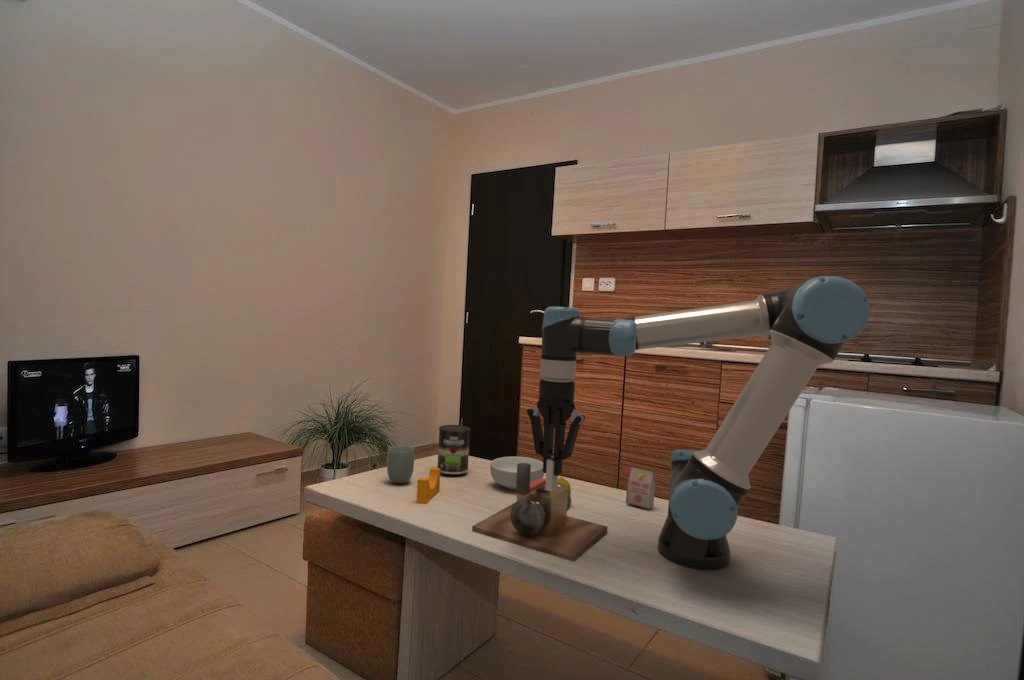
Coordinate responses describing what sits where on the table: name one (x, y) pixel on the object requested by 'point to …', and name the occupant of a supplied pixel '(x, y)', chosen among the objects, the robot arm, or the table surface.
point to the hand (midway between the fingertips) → (551, 489)
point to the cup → (400, 463)
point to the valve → (541, 511)
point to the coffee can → (453, 449)
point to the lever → (527, 480)
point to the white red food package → (640, 488)
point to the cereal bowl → (514, 470)
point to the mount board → (561, 544)
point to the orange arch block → (428, 486)
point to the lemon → (564, 483)
